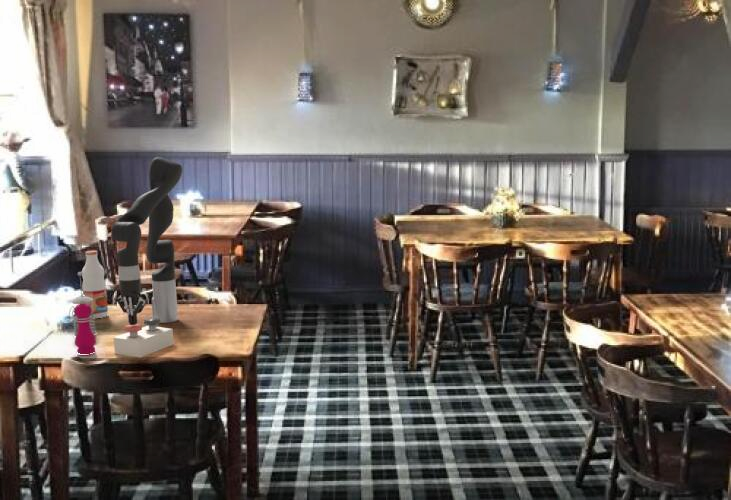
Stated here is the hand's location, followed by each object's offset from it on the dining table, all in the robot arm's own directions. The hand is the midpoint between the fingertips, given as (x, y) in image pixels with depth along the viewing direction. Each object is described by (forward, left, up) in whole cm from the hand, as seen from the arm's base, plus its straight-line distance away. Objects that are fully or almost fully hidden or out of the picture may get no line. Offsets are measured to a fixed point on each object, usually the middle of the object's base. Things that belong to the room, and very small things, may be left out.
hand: (133, 324), depth 339 cm
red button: (0, 0, -6) cm, 6 cm away
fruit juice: (-53, +34, -11) cm, 64 cm away
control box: (0, +5, -10) cm, 12 cm away
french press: (-36, +10, -11) cm, 39 cm away
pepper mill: (-16, -8, -11) cm, 21 cm away
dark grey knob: (0, +10, -6) cm, 12 cm away
